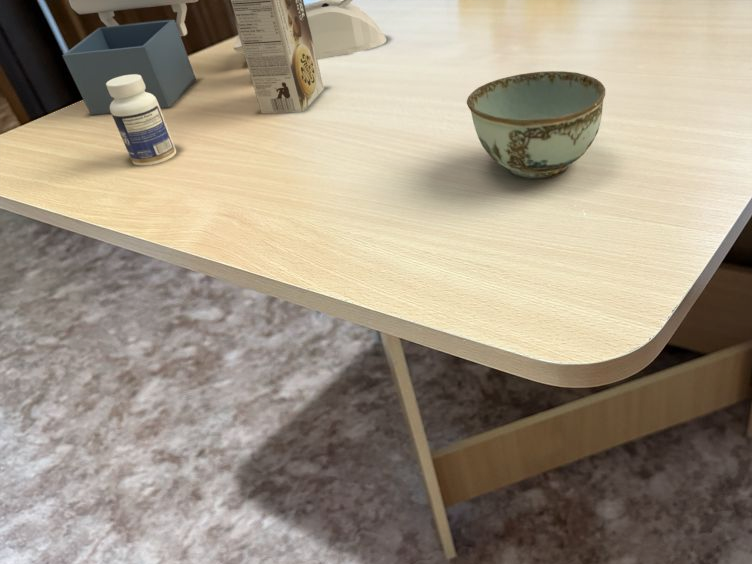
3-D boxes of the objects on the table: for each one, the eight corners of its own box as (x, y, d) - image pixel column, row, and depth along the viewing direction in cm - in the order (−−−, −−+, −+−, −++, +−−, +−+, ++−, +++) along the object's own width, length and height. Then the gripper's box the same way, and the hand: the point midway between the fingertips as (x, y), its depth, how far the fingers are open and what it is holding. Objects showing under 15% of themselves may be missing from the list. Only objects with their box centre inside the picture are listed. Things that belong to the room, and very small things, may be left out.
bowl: (632, 169, 70) (637, 89, 65) (528, 213, 65) (523, 131, 60) (548, 133, 80) (546, 61, 75) (450, 170, 74) (441, 95, 69)
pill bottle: (134, 156, 87) (101, 77, 81) (178, 147, 88) (148, 69, 82) (131, 172, 83) (96, 91, 77) (177, 162, 84) (145, 81, 78)
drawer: (170, 110, 100) (144, 46, 94) (92, 118, 101) (62, 55, 95) (203, 70, 112) (182, 11, 106) (133, 77, 113) (109, 19, 107)
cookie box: (284, 93, 101) (252, -30, 91) (326, 91, 100) (297, -34, 90) (260, 116, 94) (221, -14, 84) (304, 115, 93) (270, -18, 83)
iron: (247, 54, 120) (219, -43, 111) (384, 33, 122) (368, -65, 112) (241, 72, 112) (210, -31, 102) (389, 50, 113) (371, -54, 104)
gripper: (37, -51, 98) (80, 50, 107) (174, -68, 96) (207, 37, 105) (58, -59, 103) (98, 39, 112) (190, -74, 101) (220, 26, 110)
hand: (152, 38), depth 108 cm, fingers open, 8 cm apart
